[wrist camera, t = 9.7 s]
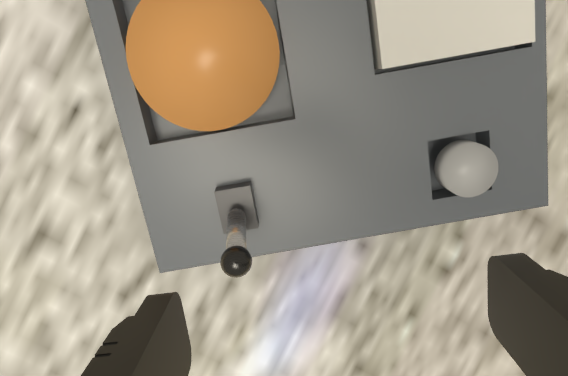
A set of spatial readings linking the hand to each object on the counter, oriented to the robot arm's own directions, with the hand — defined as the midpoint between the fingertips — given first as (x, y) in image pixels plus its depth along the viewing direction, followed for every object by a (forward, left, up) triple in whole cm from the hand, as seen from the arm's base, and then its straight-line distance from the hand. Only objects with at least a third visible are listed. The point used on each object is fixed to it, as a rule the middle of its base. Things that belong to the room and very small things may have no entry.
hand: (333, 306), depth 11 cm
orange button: (+4, -8, -20) cm, 22 cm away
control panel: (-3, -4, -22) cm, 22 cm away
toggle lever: (+4, +2, -17) cm, 18 cm away
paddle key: (-11, -8, -20) cm, 24 cm away
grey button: (-11, +2, -18) cm, 22 cm away
